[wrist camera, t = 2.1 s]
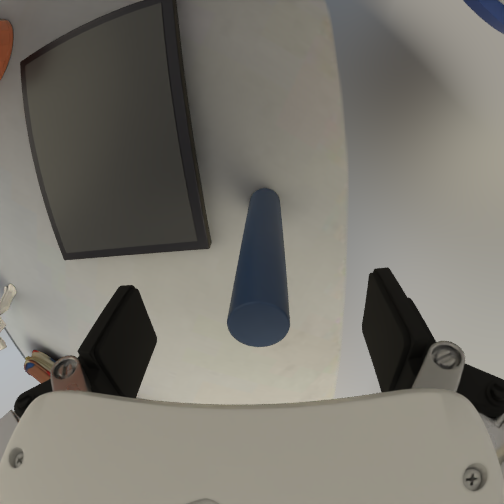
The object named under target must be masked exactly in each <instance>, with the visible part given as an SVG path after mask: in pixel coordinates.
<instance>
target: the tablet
mask: <svg viewBox="0 0 504 504" xmlns="http://www.w3.org/2000/svg"><path fill="white" fill-rule="evenodd" d="M20 65H21V82H22V93H23V103H24V111H25V118H26V124H27V131H28V136H29V142H30V147H31V152H32V157H33V161H34V165H35V170H36V174H37V178H38V182H39V185H40V189H41V193H42V196H43V200H44V203H45V206H46V210H47V213H48V216H49V219H50V222H51V225H52V228H53V231H54V234H55V237H56V239H57V242H58V245H59V248H60V250H61V253H62V255H63V258H64V260H73V259H85V258H97V257H109V256H121V255H134V254H146V253H159V252H172V251H185V250H198V249H209V248H210V245H211V237H210V232H209V227H208V221H207V216H206V210H205V205H204V199H203V194H202V188H201V182H200V176H199V170H198V164H197V158H196V152H195V145H194V139H193V132H192V126H191V119H190V112H189V105H188V98H187V91H186V83H185V76H184V68H183V60H182V51H181V43H180V34H179V24H178V15H177V4H176V0H143V1H140V2H137V3H134V4H132V5H129V6H126V7H124V8H121V9H118V10H116V11H113V12H111V13H109V14H106V15H104V16H102V17H99V18H97V19H95V20H93V21H91V22H89V23H86V24H84V25H82V26H80V27H78V28H76V29H74V30H72V31H71V32H69V33H67V34H65V35H63V36H61V37H60V38H58V39H56V40H54V41H53V42H51V43H49V44H47V45H46V46H44V47H43V48H41V49H39V50H38V51H36V52H35V53H33V54H32V55H30V56H29V57H27V58H26V59H24V60H23V61H21V62H20Z"/></svg>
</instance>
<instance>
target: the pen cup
mask: <svg viewBox="0 0 504 504" xmlns="http://www.w3.org/2000/svg"><path fill="white" fill-rule="evenodd" d="M12 45H13V29H12V26H11V24H10V22H9V21H7V20H5V19H0V80H1V78H2V76H3V74H4V72H5V70H6V67H7V65H8V62H9V59H10V55H11V51H12Z"/></svg>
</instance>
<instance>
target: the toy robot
mask: <svg viewBox="0 0 504 504" xmlns="http://www.w3.org/2000/svg"><path fill="white" fill-rule="evenodd" d="M15 294H16V289H15V287H14V286H13V285H12V284H9V286H8V288H7V287H4V294H3V296H2V298H1V300H0V315H1V314H3V313H4V312H6V311H7V310H8V309H9V307H10V304H11V301H12V299H13V297H14V296H15ZM5 326H6V324H5V323H4V321H3V320H2V319H1V317H0V332H1V331H2V330H3V329H4V327H5ZM6 347H7V346H6V344H5V342H4V340H3V339H2V338H1V337H0V350H2V349H4V348H6Z"/></svg>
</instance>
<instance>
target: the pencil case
mask: <svg viewBox="0 0 504 504" xmlns="http://www.w3.org/2000/svg"><path fill="white" fill-rule="evenodd" d="M25 359H26V361H25V364H24V369H25V371H26V372H27V373H28V374H29V375H31V376H33V377H34V378H35V379H37V380H38V381H39V382H40V383H43V382H45V381H47V380H49V379H51V377H50V371H51V368H52V366H53V365H54V363H55V362H56V361H55V360H53V359H52V358H50V357H49V356H48V355H46V354H44V353H42V352H40V351H37V350H33V352H32V356H31V357H29V356H28V357H26V358H25Z"/></svg>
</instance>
